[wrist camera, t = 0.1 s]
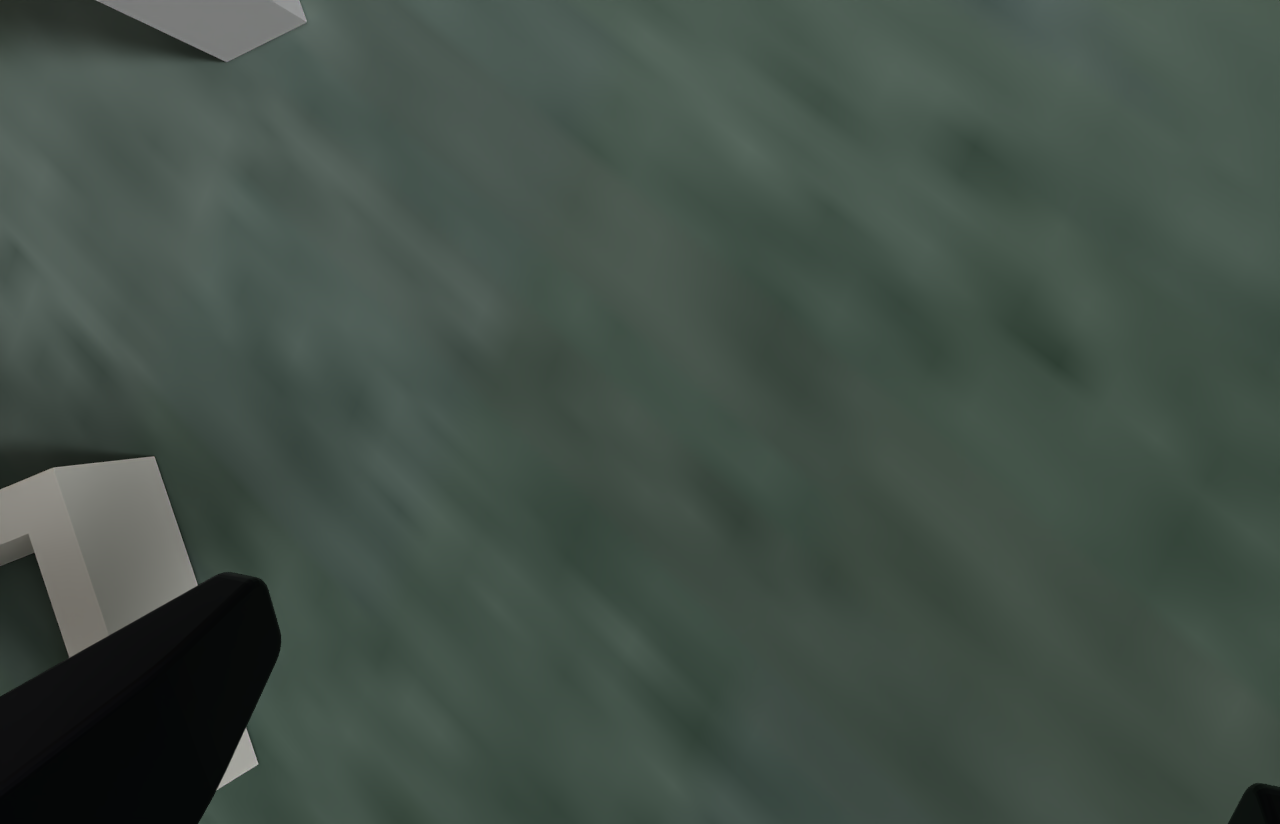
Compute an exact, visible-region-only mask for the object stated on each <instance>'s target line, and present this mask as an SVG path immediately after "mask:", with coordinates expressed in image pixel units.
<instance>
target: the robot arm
mask: <svg viewBox="0 0 1280 824" xmlns="http://www.w3.org/2000/svg"><path fill="white" fill-rule="evenodd" d="M280 647H281V633H280V629H279V625H278V622H277V618H276V615H275V611H274V608H273V604H272V601H271V597H270V594H269V590H268V588H267V585H266V584H265V583H264V582H263V581H262V580H261V579H259V578H257V577H252V576H247V575H242V574H238V573H232V572H224V573H221V574H218V575H216V576H214V577H212V578H210V579H208V580H206V581H205V582H203V583H201V584H199V585H198V586H196V587H194V588H192V589H190V590H189V591H187V592H185V593H183V594H182V595H180V596H178V597H176V598H174V599H173V600H171V601H169V602H167V603H166V604H164V605H162V606H160V607H158V608H157V609H155V610H153V611H151V612H150V613H148V614H146V615H144V616H142V617H141V618H139V619H137V620H135V621H134V622H132V623H130V624H128V625H126V626H125V627H123V628H121V629H119V630H118V631H116V632H114V633H112V634H110V635H109V636H107V637H105V638H103V639H102V640H100V641H98V642H96V643H94V644H93V645H91V646H89V647H87V648H86V649H84V650H82V651H80V652H79V653H77V654H75V655H73V656H71V657H70V658H68V659H66V660H64V661H63V662H61V663H59V664H57V665H55V666H54V667H52V668H50V669H48V670H47V671H45V672H43V673H41V674H39V675H38V676H36V677H34V678H32V679H31V680H29V681H27V682H25V683H23V684H22V685H20V686H18V687H16V688H15V689H13V690H11V691H9V692H7V693H6V694H4V695H2V696H0V824H198V823H199V821H200V819H201V818H202V816H203V814H204V812H205V810H206V809H207V807H208V805H209V803H210V802H211V800H212V798H213V796H214V794H215V792H216V790H217V788H218V786H219V784H220V782H221V780H222V778H223V776H224V774H225V772H226V770H227V768H228V766H229V763H230V761H231V759H232V757H233V755H234V753H235V750H236V748H237V746H238V744H239V742H240V739H241V737H242V735H243V733H244V731H245V729H246V726H247V724H248V722H249V720H250V718H251V716H252V713H253V711H254V709H255V707H256V705H257V702H258V700H259V698H260V696H261V694H262V692H263V689H264V687H265V685H266V683H267V681H268V678H269V676H270V674H271V672H272V670H273V668H274V665H275V663H276V661H277V658H278V656H279V652H280ZM1228 824H1280V787H1277V786H1272V785H1267V784H1262V783H1255V784H1253V785H1251V786H1250V787H1248V788H1247V790H1246V791H1245V792H1244V794H1243V796H1242V798H1241V800H1240V802H1239V804H1238V806H1237V807H1236V809H1235V811H1234V813H1233V815H1232V817H1231V819H1230V821H1229V823H1228Z"/></svg>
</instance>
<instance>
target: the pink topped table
mask: <svg viewBox="0 0 1280 824" xmlns="http://www.w3.org/2000/svg"><path fill="white" fill-rule="evenodd" d="M96 1H98V2H101V3H103V4H105V5H107V6H109V7H111V8H113V9H115V10H117V11H120V12H122V13H124V14H126V15H128V16H130V17H132V18H134V19H136V20H139V21H141V22H143V23H145V24H147V25H149V26H151V27H153V28H155V29H158V30H160V31H162V32H164V33H166V34H168V35H170V36H172V37H175V38H177V39H179V40H181V41H183V42H185V43H187V44H189V45H191V46H194V47H196V48H198V49H200V50H202V51H204V52H206V53H208V54H210V55H213V56H215V57H217V58H219V59H221V60H223V61H225V62H228V61H230V60H232V59H234V58H236V57H238V56H240V55H242V54H244V53H246V52H248V51H250V50H252V49H254V48H256V47H258V46H260V45H262V44H264V43H266V42H268V41H270V40H273V39H275V38H277V37H279V36H281V35H283V34H285V33H287V32H289V31H291V30H293V29H295V28H297V27H299V26H301V25H303V24H305V23H307V21H306V18H305V15H304V12H303V9H302V6H301V4H300V1H299V0H96Z"/></svg>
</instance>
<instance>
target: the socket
mask: <svg viewBox="0 0 1280 824" xmlns="http://www.w3.org/2000/svg"><path fill="white" fill-rule="evenodd" d="M33 553H35V555H36V558H37V561H38V565H39V568H40V571H41V574H42V577H43V580H44V583H45V586H46V589H47V592H48V595H49V598H50V601H51V604H52V607H53V610H54V613H55V616H56V619H57V622H58V625H59V628H60V631H61V634H62V637H63V640H64V643H65V646H66V649H67V652H68V655H69V658H70V657H71V656H73V655H75V654H77V653H79V652H80V651H82V650H84V649H86V648H87V647H89V646H91V645H93V644H94V643H96V642H98V641H100V640H102V639H103V638H105V637H107V636H109V635H110V634H112V633H114V632H116V631H118V630H119V629H121V628H123V627H125V626H126V625H128V624H130V623H132V622H134V621H135V620H137V619H139V618H141V617H142V616H144V615H146V614H148V613H150V612H151V611H153V610H155V609H157V608H158V607H160V606H162V605H164V604H166V603H167V602H169V601H171V600H173V599H174V598H176V597H178V596H180V595H182V594H183V593H185V592H187V591H189V590H190V589H192V588H194V587H196V586H198V584H197V581H196V578H195V575H194V572H193V569H192V566H191V563H190V560H189V557H188V554H187V551H186V548H185V545H184V542H183V539H182V536H181V533H180V531H179V528H178V525H177V522H176V519H175V516H174V513H173V510H172V507H171V504H170V501H169V498H168V495H167V492H166V489H165V486H164V483H163V480H162V477H161V474H160V471H159V468H158V465H157V462H156V459H155V457H154V456H152V457H143V458H134V459H125V460H116V461H107V462H98V463H89V464H80V465H71V466H62V467H53V468H51V469H48V470H46V471H44V472H41V473H39V474H36V475H34V476H31V477H29V478H27V479H24V480H22V481H19V482H17V483H15V484H12V485H10V486H7V487H5V488H2V489H0V566H2V565H5V564H7V563H10V562H12V561H15V560H17V559H20V558H22V557H25V556H27V555H30V554H33ZM256 765H258V761H257V758H256V755H255V753H254V750H253V747H252V744H251V741H250V738H249V735H248V732H247V729H245V731H244V733H243V735H242V737H241V739H240V742H239V744H238V746H237V748H236V750H235V753H234V755H233V757H232V759H231V761H230V763H229V766H228V768H227V770H226V772H225V774H224V776H223V778H222V780H221V782H220V784H219V786H218V788H217V790H218V789H219V788H221V787H222V786H224V785H226V784H227V783H229V782H231V781H232V780H234V779H235V778H237V777H239V776H240V775H242V774H243V773H245V772H247V771H248V770H250V769H251V768H253V767H255V766H256Z"/></svg>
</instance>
